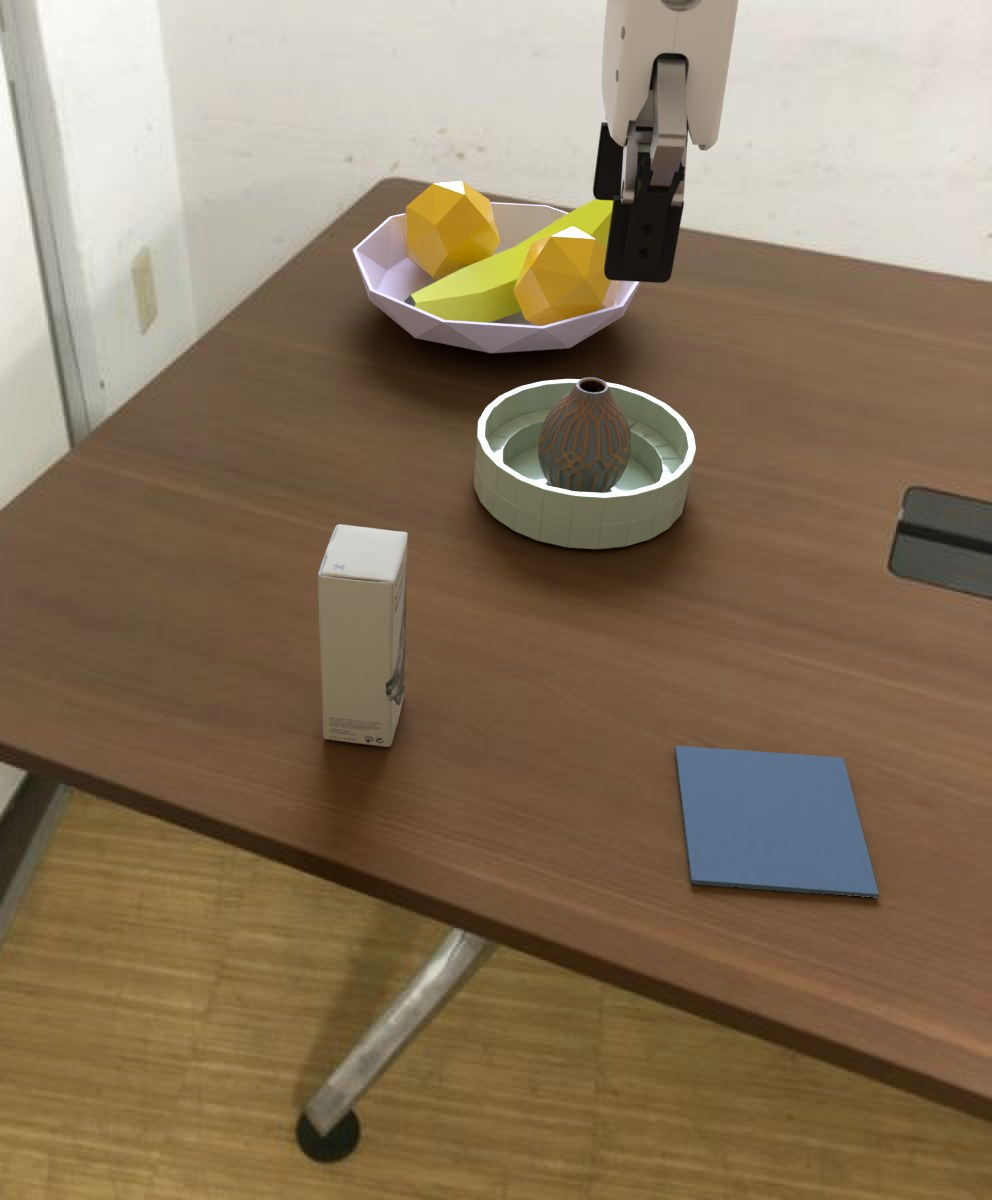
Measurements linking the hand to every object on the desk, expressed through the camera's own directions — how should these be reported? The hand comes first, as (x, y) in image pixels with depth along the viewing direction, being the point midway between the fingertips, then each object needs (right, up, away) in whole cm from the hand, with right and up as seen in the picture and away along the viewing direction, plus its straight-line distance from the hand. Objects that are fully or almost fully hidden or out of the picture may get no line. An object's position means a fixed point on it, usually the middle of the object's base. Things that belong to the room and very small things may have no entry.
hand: (628, 236), depth 64 cm
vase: (+2, -10, +32) cm, 33 cm away
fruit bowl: (-1, +8, +54) cm, 54 cm away
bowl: (+2, -10, +32) cm, 34 cm away
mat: (+9, -31, +7) cm, 34 cm away
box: (-14, -26, +13) cm, 32 cm away
